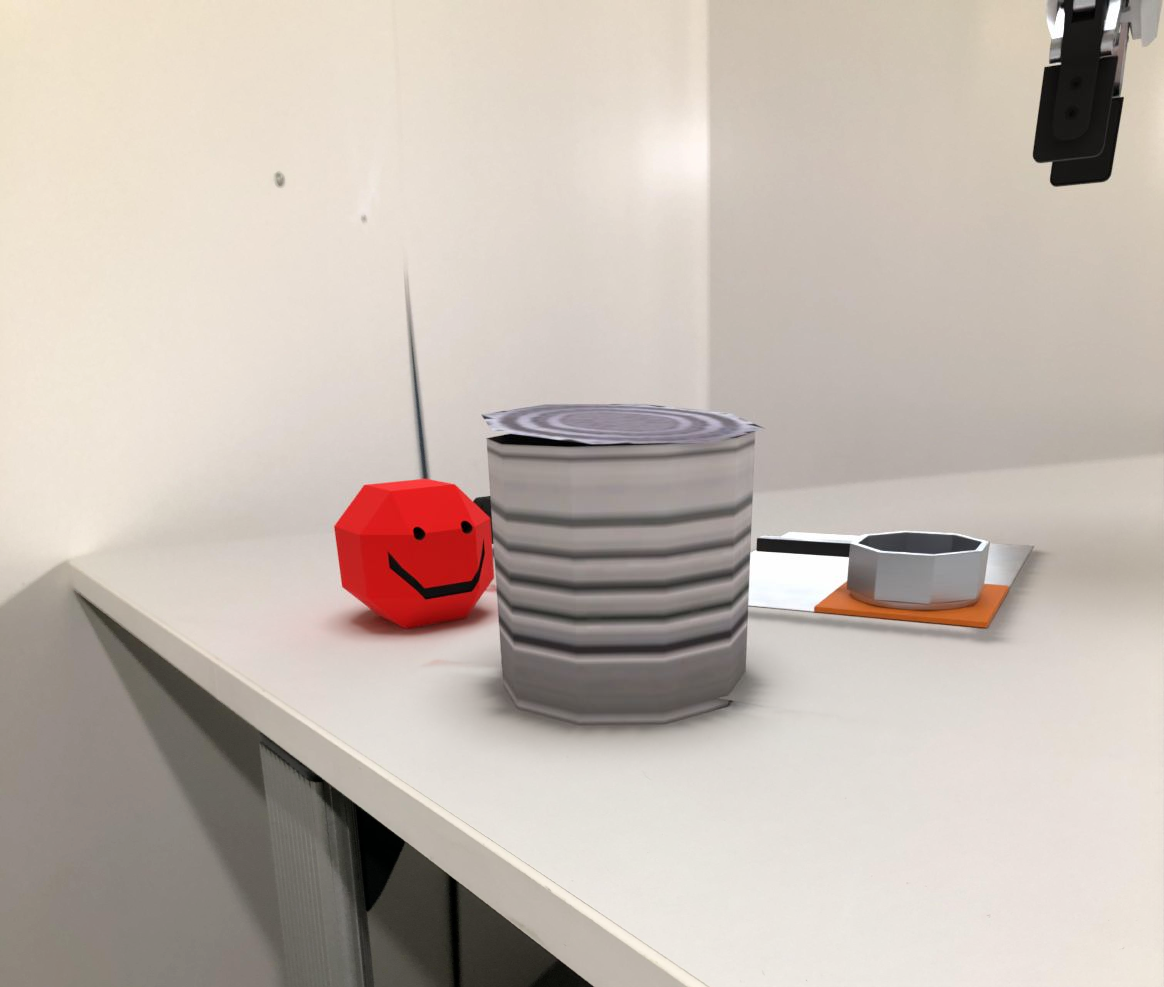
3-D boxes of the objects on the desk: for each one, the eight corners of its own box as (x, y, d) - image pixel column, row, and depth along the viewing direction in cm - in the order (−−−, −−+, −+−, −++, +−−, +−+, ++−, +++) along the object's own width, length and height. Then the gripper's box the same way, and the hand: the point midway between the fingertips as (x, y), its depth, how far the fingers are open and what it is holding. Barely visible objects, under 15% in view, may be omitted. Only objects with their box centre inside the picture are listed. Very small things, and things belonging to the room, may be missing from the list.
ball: (386, 643, 52) (369, 498, 49) (334, 615, 58) (316, 485, 55) (513, 618, 56) (505, 484, 53) (452, 595, 62) (441, 472, 59)
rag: (854, 578, 60) (855, 574, 60) (1008, 590, 56) (1009, 585, 56) (813, 611, 53) (814, 606, 53) (986, 628, 49) (987, 622, 49)
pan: (987, 587, 56) (995, 535, 54) (969, 615, 50) (976, 558, 49) (775, 571, 61) (777, 524, 60) (737, 595, 56) (739, 543, 55)
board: (788, 539, 76) (788, 531, 76) (1033, 553, 68) (1034, 545, 68) (665, 607, 57) (665, 597, 57) (985, 639, 49) (987, 628, 49)
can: (694, 640, 51) (698, 397, 46) (791, 708, 40) (809, 406, 36) (481, 662, 48) (461, 408, 43) (528, 742, 38) (510, 421, 33)
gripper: (1247, -397, 36) (1152, 137, 43) (1221, -196, 50) (1153, 184, 57) (1031, -328, 40) (975, 157, 47) (1063, -157, 53) (1016, 198, 60)
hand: (1073, 172), depth 52 cm, fingers open, 9 cm apart
